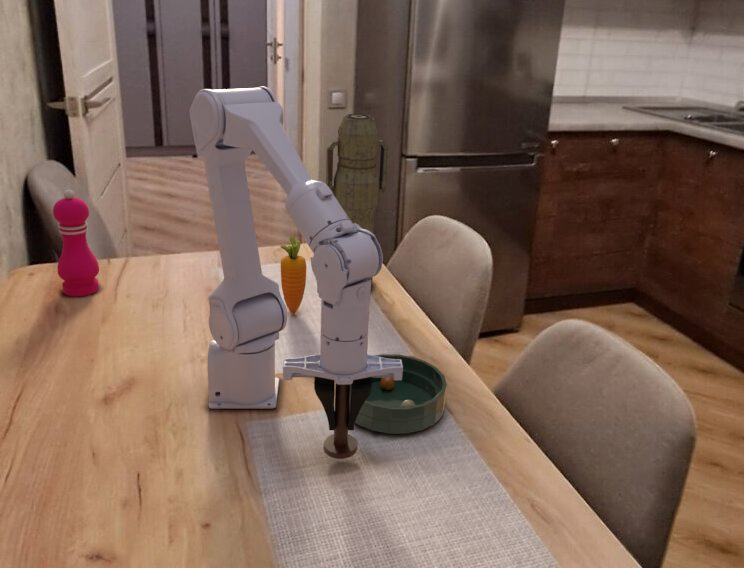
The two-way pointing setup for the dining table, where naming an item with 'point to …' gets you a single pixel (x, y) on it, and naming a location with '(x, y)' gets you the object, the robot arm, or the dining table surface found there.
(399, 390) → the bowl
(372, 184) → the thermos
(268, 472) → the dining table surface
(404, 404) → the bead
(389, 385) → the bead
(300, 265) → the carrot
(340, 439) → the stick
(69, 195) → the pepper mill
